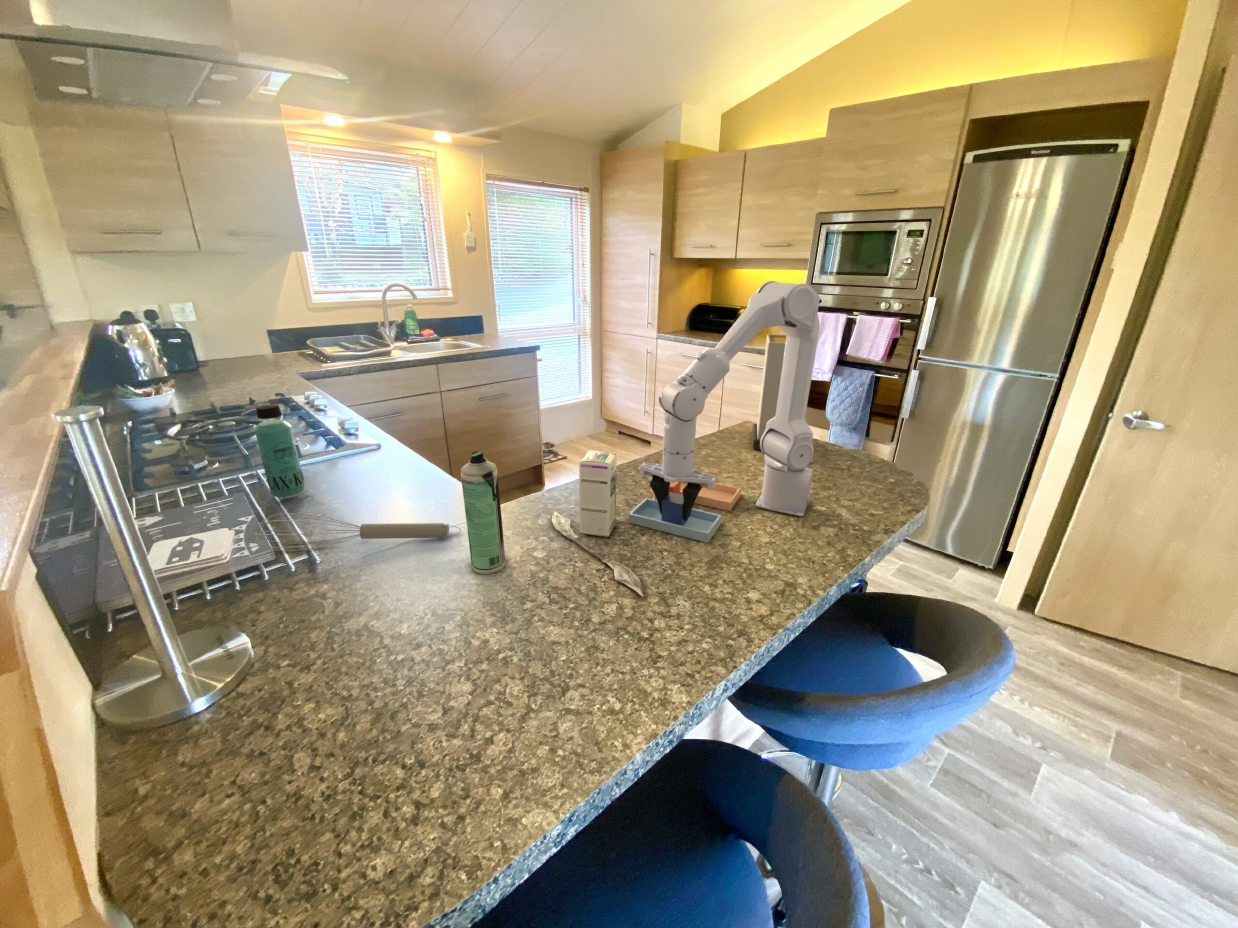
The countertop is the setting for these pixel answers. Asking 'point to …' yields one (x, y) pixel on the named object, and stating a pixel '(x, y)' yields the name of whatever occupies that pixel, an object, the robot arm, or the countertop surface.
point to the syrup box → (597, 492)
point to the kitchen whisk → (372, 531)
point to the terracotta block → (674, 488)
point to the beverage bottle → (278, 453)
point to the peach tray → (717, 496)
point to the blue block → (673, 509)
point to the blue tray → (695, 527)
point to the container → (769, 385)
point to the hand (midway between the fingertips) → (675, 515)
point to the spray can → (483, 514)
